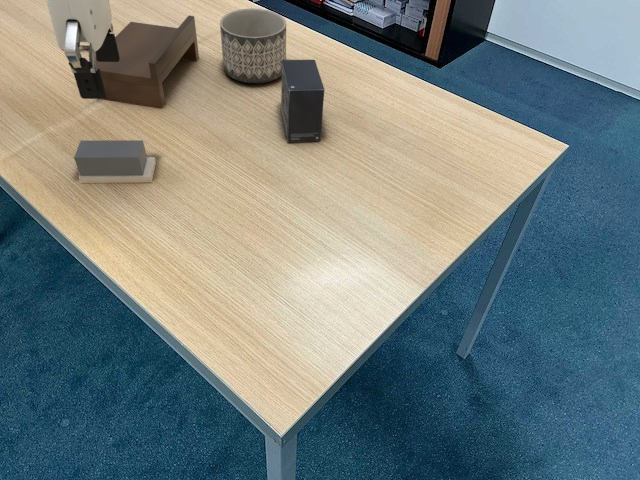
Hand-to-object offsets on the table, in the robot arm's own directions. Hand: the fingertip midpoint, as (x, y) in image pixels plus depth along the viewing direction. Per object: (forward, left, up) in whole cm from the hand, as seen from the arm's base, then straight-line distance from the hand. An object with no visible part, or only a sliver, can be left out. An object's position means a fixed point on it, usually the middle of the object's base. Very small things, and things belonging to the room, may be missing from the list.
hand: (101, 78), depth 75 cm
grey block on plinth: (-2, 0, -17) cm, 17 cm away
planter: (-3, +39, -18) cm, 43 cm away
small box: (+15, +28, -18) cm, 36 cm away
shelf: (-19, +25, -17) cm, 36 cm away
